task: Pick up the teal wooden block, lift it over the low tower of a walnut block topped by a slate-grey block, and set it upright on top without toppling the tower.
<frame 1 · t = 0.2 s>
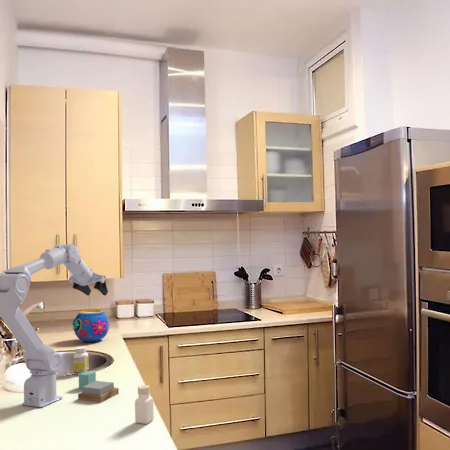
hand: (97, 293, 180), 31 cm above the counter, tool tilted 45°, fingers open, 7 cm apart
ceramic pot: (91, 341, 246), on the counter
teal block: (87, 387, 167), on the counter
walnut block: (98, 398, 157), on the counter, touching slate-grey block
white square bottle: (144, 422, 134), on the counter
slate-grey block: (98, 391, 156), point 2 cm above the counter, touching walnut block
supplement bottle: (81, 373, 185), on the counter
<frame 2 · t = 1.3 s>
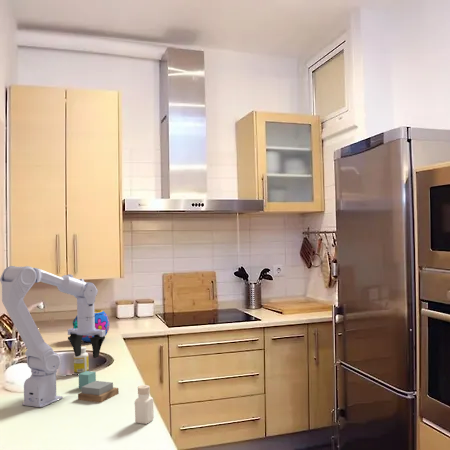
hand: (86, 356, 167), 10 cm above the counter, tool pointing down, fingers open, 7 cm apart
nothing on the counter moved.
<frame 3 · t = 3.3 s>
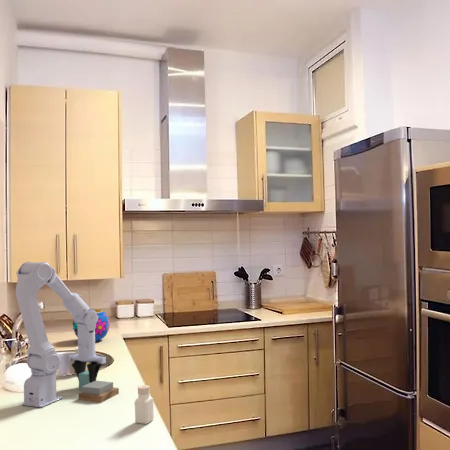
hand: (87, 383, 167), 1 cm above the counter, tool pointing down, fingers closed on teal block, 4 cm apart
teal block: (87, 387, 167), on the counter, touching gripper
everything else where it was.
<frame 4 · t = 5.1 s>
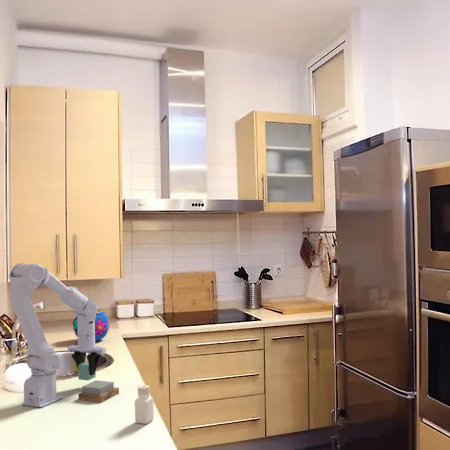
hand: (87, 374, 167), 5 cm above the counter, tool pointing down, fingers closed on teal block, 4 cm apart
teal block: (87, 378, 167), point 3 cm above the counter, touching gripper
walnut block: (99, 398, 157), on the counter
slate-grey block: (98, 390, 157), point 2 cm above the counter
everything else where it was.
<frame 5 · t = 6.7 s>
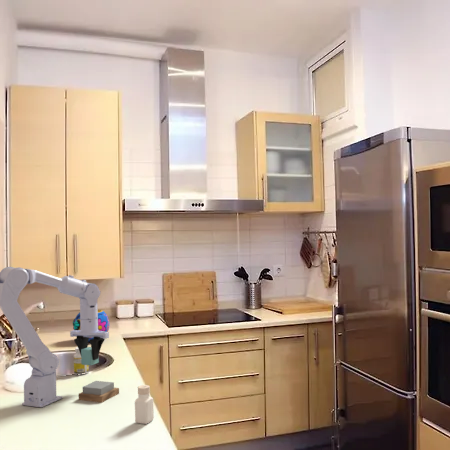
hand: (89, 358, 164), 10 cm above the counter, tool pointing down, fingers closed on teal block, 4 cm apart
teal block: (90, 363, 164), point 9 cm above the counter, touching gripper
walnut block: (99, 398, 156), on the counter, touching slate-grey block
slate-grey block: (98, 390, 157), point 2 cm above the counter, touching walnut block
everything else where it was.
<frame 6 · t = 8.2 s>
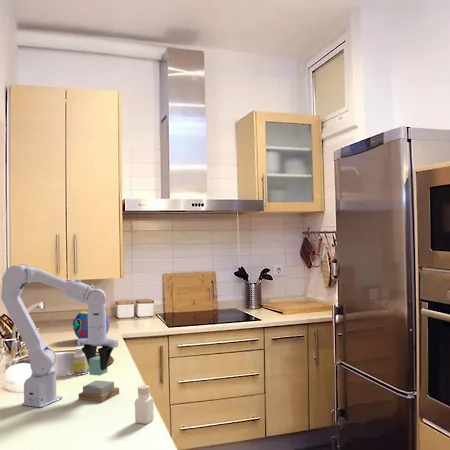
hand: (98, 368, 157), 9 cm above the counter, tool pointing down, fingers closed on teal block, 4 cm apart
teal block: (98, 373, 157), point 7 cm above the counter, touching gripper
walnut block: (99, 398, 156), on the counter
slate-grey block: (98, 390, 157), point 2 cm above the counter
everything else where it was.
when the fingers open (7 cm above the counter, at t = 9.6 s): teal block drops 2 cm, resting on slate-grey block.
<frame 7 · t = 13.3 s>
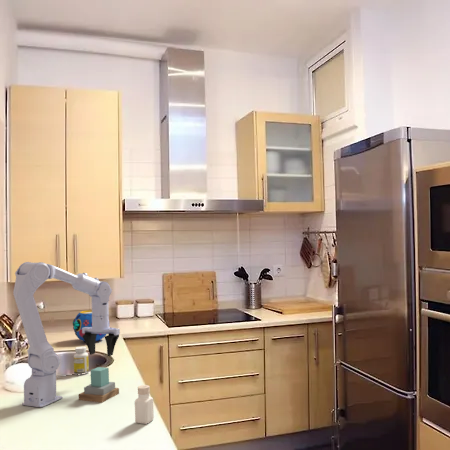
hand: (101, 354, 170), 10 cm above the counter, tool pointing down, fingers open, 7 cm apart
teal block: (100, 384, 157), point 4 cm above the counter, touching slate-grey block
walnut block: (99, 398, 156), on the counter, touching slate-grey block
slate-grey block: (100, 391, 156), point 2 cm above the counter, touching teal block, walnut block
everything else where it was.
at the end: teal block 0.2 cm off-centre on the slate-grey block, point 2.0 cm above the slate-grey block's base; teal block tilted 1°; slate-grey block 0.3 cm off-centre on the walnut block, point 2.5 cm above the walnut block's base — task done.
